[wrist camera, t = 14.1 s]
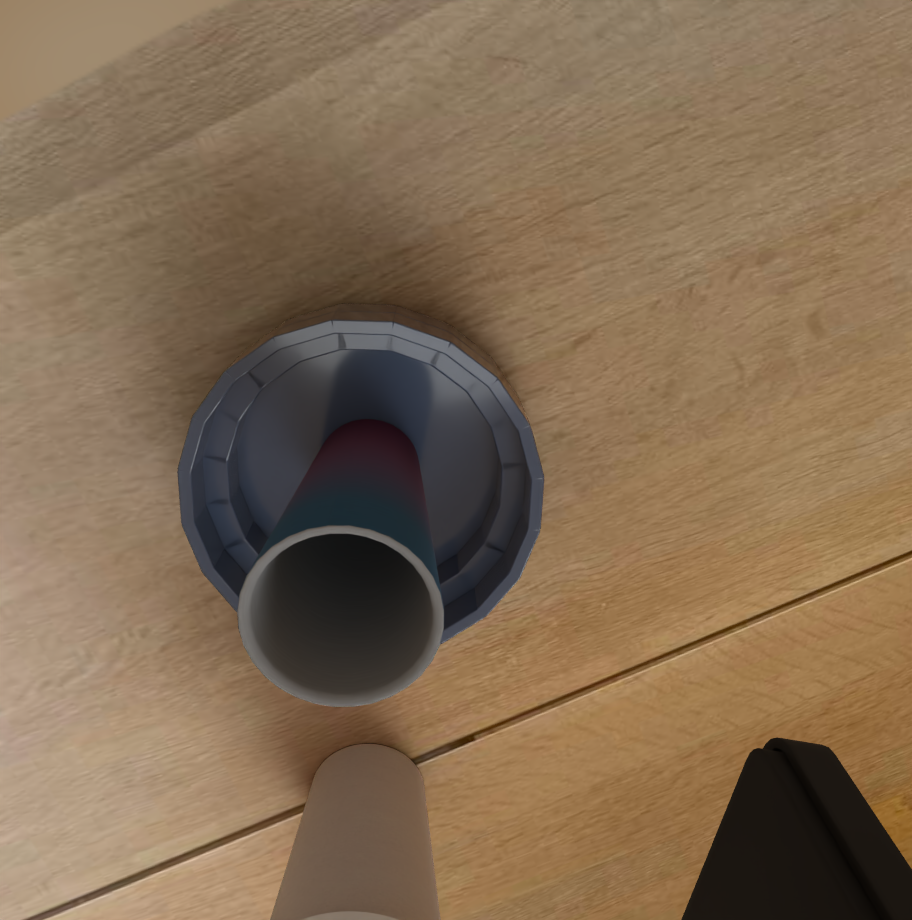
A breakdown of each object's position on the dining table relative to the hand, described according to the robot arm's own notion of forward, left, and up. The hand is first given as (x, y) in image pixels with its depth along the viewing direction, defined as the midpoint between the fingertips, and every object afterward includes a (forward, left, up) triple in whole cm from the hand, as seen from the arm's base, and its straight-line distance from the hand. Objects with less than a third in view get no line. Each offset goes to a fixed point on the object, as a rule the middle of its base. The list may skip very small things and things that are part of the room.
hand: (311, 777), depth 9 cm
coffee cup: (+28, -1, -33) cm, 44 cm away
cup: (+8, -1, -33) cm, 34 cm away
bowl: (+8, -1, -33) cm, 34 cm away
